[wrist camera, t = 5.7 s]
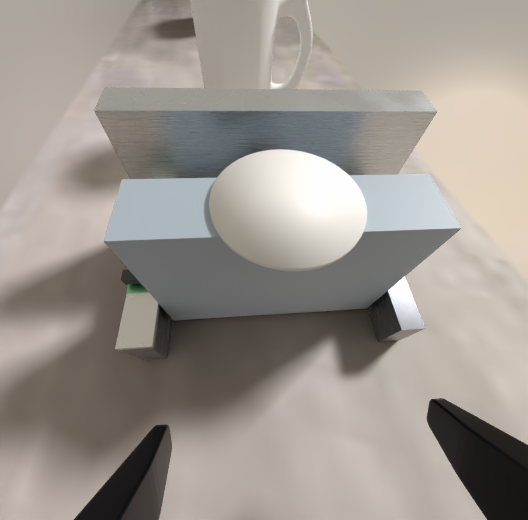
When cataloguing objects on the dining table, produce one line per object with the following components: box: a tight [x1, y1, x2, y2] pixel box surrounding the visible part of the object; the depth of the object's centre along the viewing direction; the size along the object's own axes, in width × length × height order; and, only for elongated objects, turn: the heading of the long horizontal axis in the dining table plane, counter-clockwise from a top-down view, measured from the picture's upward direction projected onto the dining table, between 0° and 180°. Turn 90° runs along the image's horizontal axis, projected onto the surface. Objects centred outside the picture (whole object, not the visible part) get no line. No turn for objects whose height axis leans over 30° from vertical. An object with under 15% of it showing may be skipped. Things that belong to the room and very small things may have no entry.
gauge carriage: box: [104, 149, 461, 321], centre depth 13 cm, size 6×15×9 cm, turn 95°
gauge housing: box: [94, 88, 437, 360], centre depth 14 cm, size 11×17×10 cm, turn 95°
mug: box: [190, 0, 312, 89], centre depth 23 cm, size 10×7×12 cm, turn 95°
